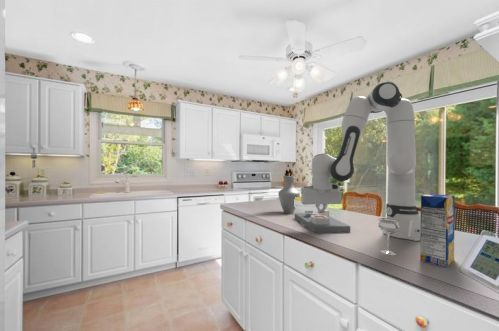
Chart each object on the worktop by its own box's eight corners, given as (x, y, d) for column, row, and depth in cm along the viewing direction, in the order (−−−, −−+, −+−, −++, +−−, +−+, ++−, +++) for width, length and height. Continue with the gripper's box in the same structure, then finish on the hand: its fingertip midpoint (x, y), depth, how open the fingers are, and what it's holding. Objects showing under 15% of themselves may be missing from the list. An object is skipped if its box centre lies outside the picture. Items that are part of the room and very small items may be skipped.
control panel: (323, 218, 146) (323, 208, 147) (350, 232, 115) (350, 219, 115) (294, 218, 145) (294, 208, 145) (314, 232, 113) (314, 220, 113)
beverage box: (420, 260, 80) (421, 195, 80) (429, 253, 87) (430, 193, 87) (446, 267, 75) (446, 197, 75) (454, 259, 82) (454, 195, 82)
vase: (302, 212, 165) (303, 176, 165) (294, 215, 153) (295, 176, 153) (283, 210, 173) (284, 175, 173) (274, 212, 161) (275, 175, 161)
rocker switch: (309, 213, 139) (309, 210, 139) (312, 213, 134) (312, 210, 134) (304, 213, 138) (304, 210, 139) (307, 213, 134) (307, 210, 134)
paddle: (327, 217, 132) (327, 209, 132) (329, 218, 130) (329, 210, 130) (320, 217, 132) (320, 209, 132) (322, 218, 130) (322, 210, 130)
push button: (322, 220, 123) (322, 217, 123) (326, 223, 118) (326, 219, 118) (313, 220, 123) (313, 217, 123) (316, 223, 118) (316, 219, 118)
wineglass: (375, 252, 87) (376, 219, 88) (380, 248, 93) (380, 217, 93) (397, 257, 83) (397, 222, 83) (400, 252, 88) (401, 219, 88)
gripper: (302, 186, 116) (303, 214, 116) (342, 185, 118) (343, 213, 118) (298, 185, 122) (299, 212, 122) (336, 185, 125) (337, 211, 124)
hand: (321, 213), depth 120 cm, fingers closed
